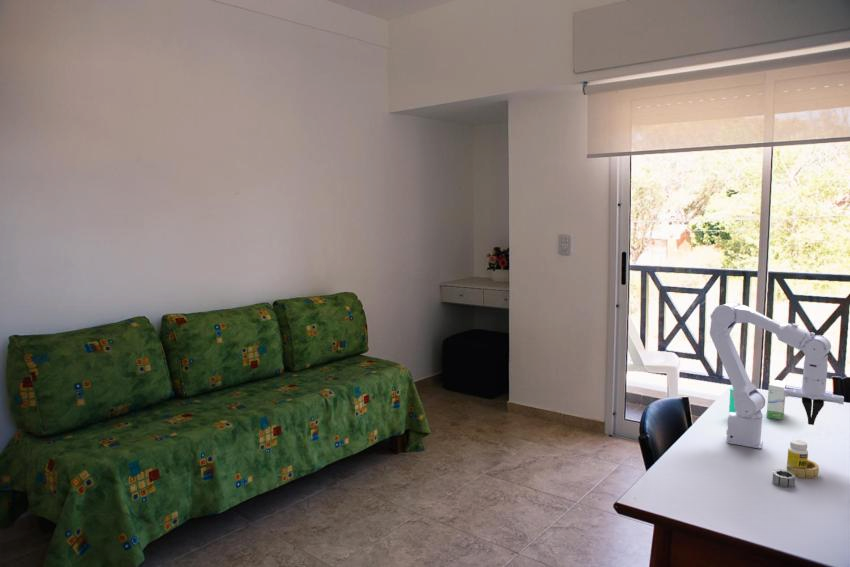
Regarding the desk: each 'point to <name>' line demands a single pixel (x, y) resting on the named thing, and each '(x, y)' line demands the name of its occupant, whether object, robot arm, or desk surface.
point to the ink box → (776, 399)
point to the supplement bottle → (797, 454)
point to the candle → (731, 401)
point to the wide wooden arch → (805, 470)
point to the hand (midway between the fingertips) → (810, 423)
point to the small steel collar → (783, 478)
